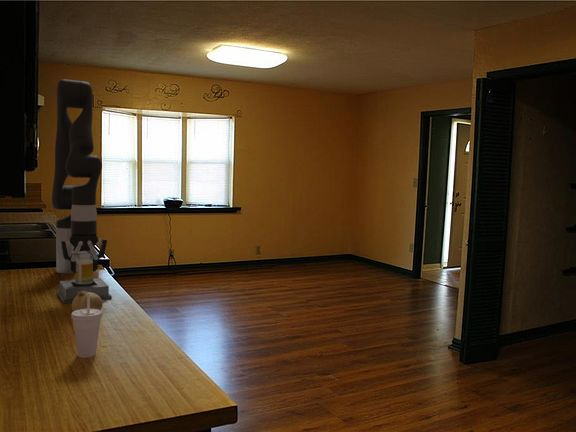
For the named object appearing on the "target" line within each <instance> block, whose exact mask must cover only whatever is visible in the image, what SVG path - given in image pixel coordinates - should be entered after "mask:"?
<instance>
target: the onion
mask: <svg viewBox="0 0 576 432" xmlns="http://www.w3.org/2000/svg"><path fill="white" fill-rule="evenodd" d="M87 293H90V309H99V310H101V311H102V309H103V304H104V303H103V302H104V301H103V300H102V299H101V298H100V297H99V296H98V295H97V294H95V293H91V292H87V291H81V292H79V293H78V295H77V296H76V297H75V298H74V300H73V302H72V303H71V310H72V312H74V311H76V310H80V309H87Z"/></svg>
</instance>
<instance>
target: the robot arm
mask: <svg viewBox="0 0 576 432" xmlns="http://www.w3.org/2000/svg"><path fill="white" fill-rule="evenodd" d="M93 93H94V92H93V87H92V85H91V84H90V83H89V82H88V81H82V80H74V79H63V78H62V79H60V80H59V81H58V83H57V87H56V131H55V132H56V133H55V134H56V135H55V144H54V172H53V173H54V175H53V182H52V183H53V184H52V192H51V193H52V194H51V203H52V204H51V205H52V207H53V208H54V210H61V211H62V210H64V211H65V210H66V211H67V210H69V211H70V214H68V215H67V216H64V217H62V218H59V219H57V220H56V221H55V222H56V225H55V227H56V229H55V230H56V238H55V239H56V242H55V245H56V247H55V249H56V251H55V252H56V254H55V255H56V256H55V257H56V269H55V271H56V273H58V274H68V275H69V274H75V273H76V262H75V261H76V260H77V259H78V257H77V255H78V253H79V252H91V257H92V258H91V259H92V260H93V272H96V270H98V268H99V260H100V259H103V258H104V257H105V252H106V248H107V243H108V241H107V239H106V238H99V237H98V235H97V234H98V233H97V230H98V229H97V228H98V227H97V225H98V223H97V219H98V215H97V213H98V211H97V203H96V202H97V186H98V182H99V179H100V176H101V173H102V169H103V162H102V160H101V158H100V157H98V156H97V155H91V154H92V153H93V152H94V149H95V147H94V139H93V137H94V136H93V128H92V125H93V110H94V108H93V105H94V104H93V103H94V102H93V99H94V97H93V96H94V94H93ZM68 108H71V109H72V108H73V109H80V110H81V109H82V111H81V112H80V113H79V115H78V117H76V119H75V120H74V121H73V122H72V119H71V118H70V116H69V113H68ZM68 177H72V178H75V179H77V178H79V179H81V178H85V179H86V178H88V179H89V180H88V181H87V182H86V183H84V184H78V185H65V182H66V180H67V179H68ZM96 244H98V245H99V250H98V254H97V252H96V249H95V246H96Z"/></svg>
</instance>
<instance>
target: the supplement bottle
mask: <svg viewBox="0 0 576 432" xmlns="http://www.w3.org/2000/svg"><path fill="white" fill-rule="evenodd" d="M77 257H78V259H77V260H76V261H75V262H76V273H74V280H75V283H76V284H90V283H92V282H93V260H92V259H93V258H91V257H92V255H91V252H90V251H82V252H79V253H78V255H77Z"/></svg>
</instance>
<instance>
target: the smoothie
mask: <svg viewBox="0 0 576 432" xmlns="http://www.w3.org/2000/svg"><path fill="white" fill-rule="evenodd" d="M102 317H103V311H102V309H101V310H99V309H90V293H87V309H80V310H76V311H74V312H73V311H72V312H71V320H72V323H73V330H74V335H75V336H74V338H75V344H76V352H77V357H78V358H82V359H87V358H88V359H89V358H93V357H95V356H96V354H97V347H98V340H99V333H100V325H101V318H102Z"/></svg>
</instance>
